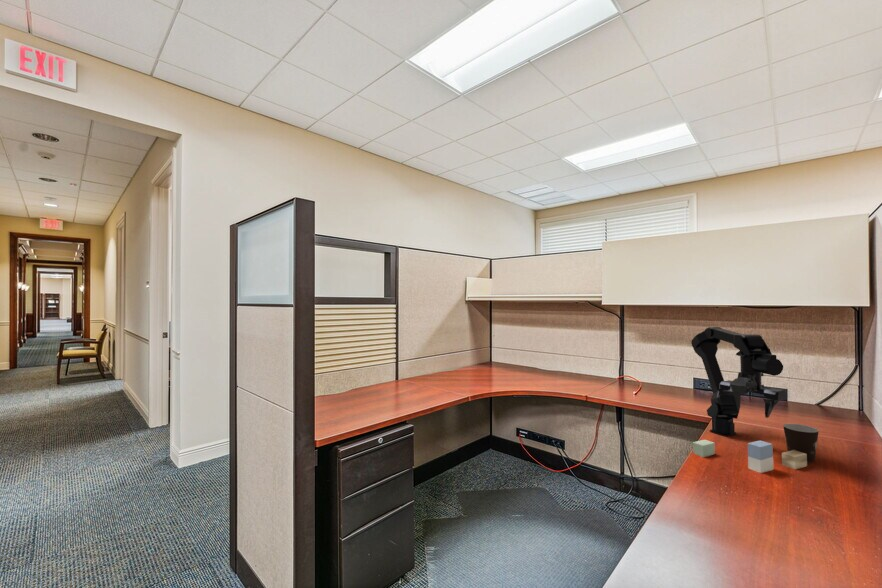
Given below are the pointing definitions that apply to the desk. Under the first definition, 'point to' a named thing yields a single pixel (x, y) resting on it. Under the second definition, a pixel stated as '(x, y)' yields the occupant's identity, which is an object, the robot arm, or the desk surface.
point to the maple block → (794, 459)
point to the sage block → (704, 448)
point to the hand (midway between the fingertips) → (752, 414)
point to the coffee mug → (801, 439)
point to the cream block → (760, 464)
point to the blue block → (760, 450)
